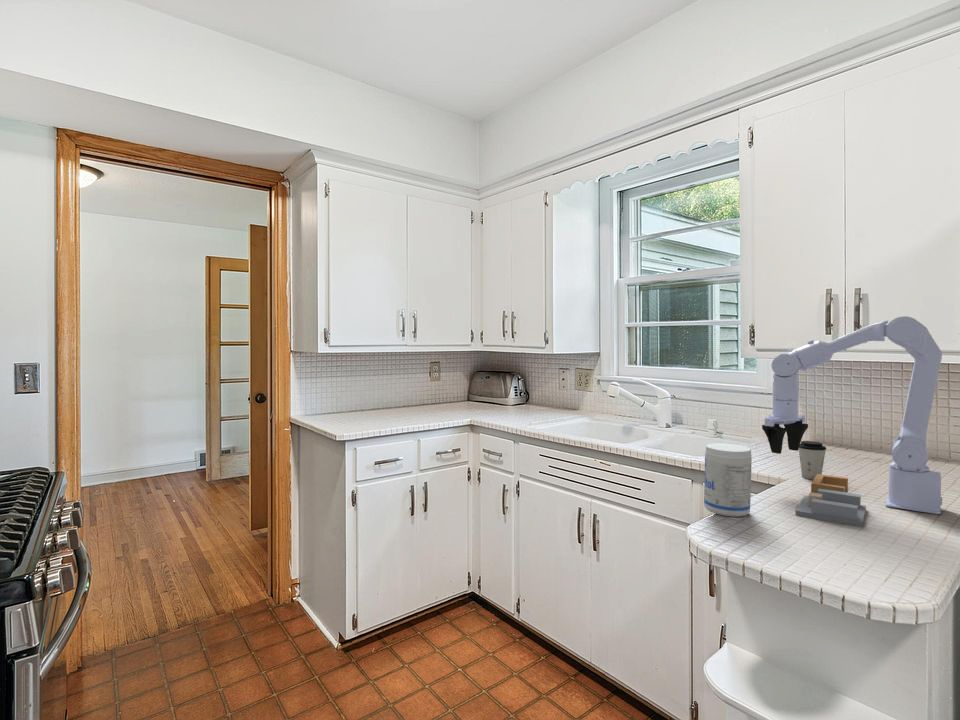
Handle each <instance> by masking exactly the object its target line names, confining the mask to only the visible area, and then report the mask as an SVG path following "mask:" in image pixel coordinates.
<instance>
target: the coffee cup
mask: <svg viewBox="0 0 960 720" xmlns="http://www.w3.org/2000/svg"><path fill="white" fill-rule="evenodd" d="M826 451H827V447H826V446H825V445H823V443H822V442H820V441H812V440H801V443H800V446H799V449H798V455H799V463H800V473H801V477H802V478H804V479H808V480H814V478H815V477H816V475H817V474H822V475H823V469H824V462H825V457H826V456H825V455H826Z"/></svg>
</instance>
